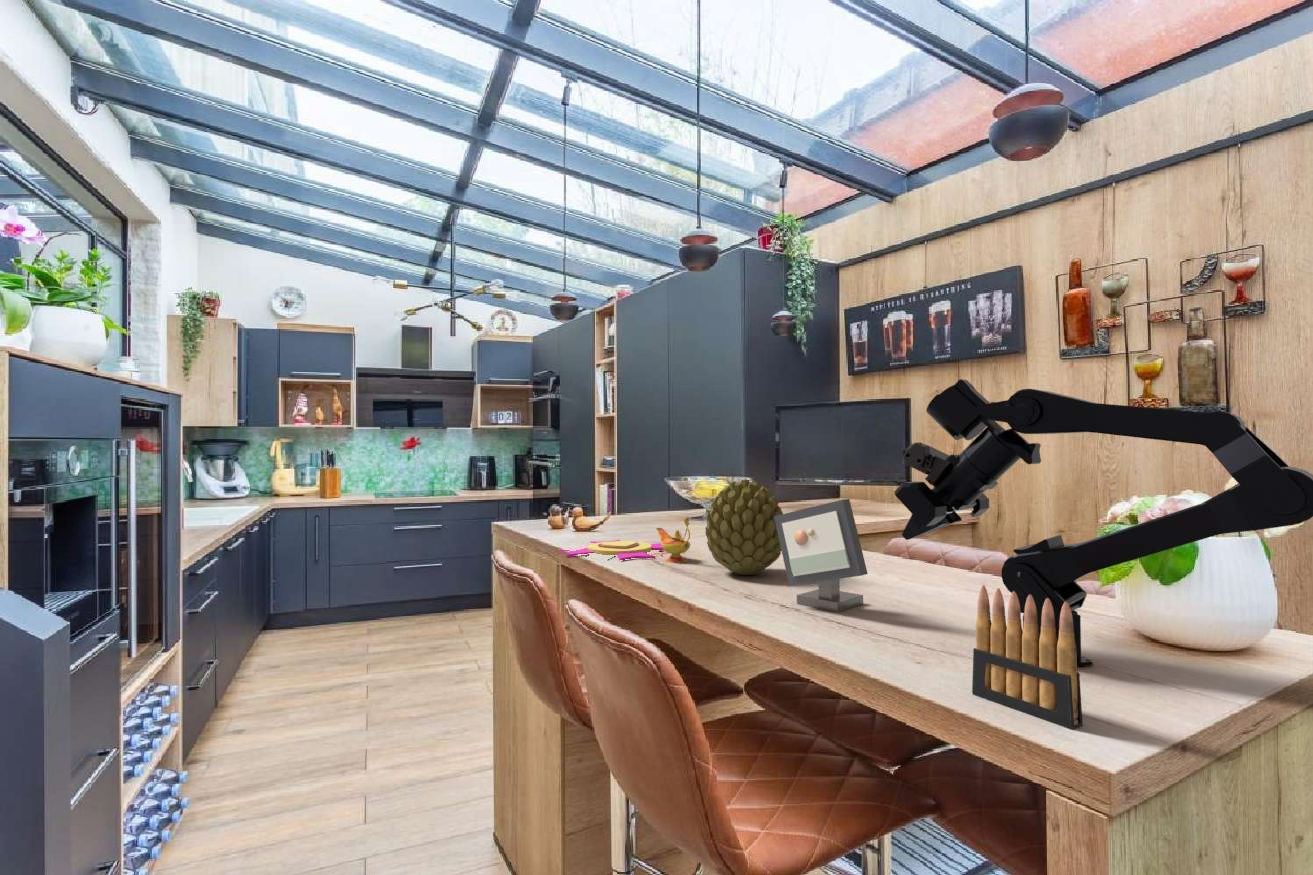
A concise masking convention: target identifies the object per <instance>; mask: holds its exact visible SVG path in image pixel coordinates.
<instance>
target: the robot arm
mask: <svg viewBox="0 0 1313 875" xmlns="http://www.w3.org/2000/svg"><path fill="white" fill-rule="evenodd" d="M925 411H926V413H927V414H928V415H929V416H930V417H931V418H932V419H933V420H934V421H935V422H936V423H937V424H938V425H939V426H940V427H941V428H942V429H943V430H944V431H945V432H947V433H948V435H949V436H950V437H952V438H953V439H954V440H955V441H958V440H962V439H964V440H966V441H970V440H972V441H971V442H970V443H969V444H968V446H966V448H965V449H963V450H962V451H961V452H960V453H959V454H950V455H949V454H948V453H945V452H943V451H941V450H939V449H937V448H935V447H933V446H930V445H928V444H925V443H922V442H920V441H919V442H913V443H910V444H908V445H907V447H906V448H905V449H904V448H903V450H902V451H901V454H902V456H903V460H902V464H903V465H904V466H906V467H907V468H910V467H911V468H912V469H914V470H916V471H919V472H921V473H923V474H925V475H926V477H925V478H924V480H925V481H926V482H927V483H928V484H929V485H930V486H932V487H933V488H930V487H929V486H928V485H927V484H926V482H924V481H907V482H902V483H901V484H900V485H899V486H898V487H897V488H896V489H895V490H894V496H895V497H896V499H898V500H899V501H900V502H901V503H902V505H904V507H905V508H906V509H907V510H908V511H909V512H910V513H911V516H910V517H909V520H908V522H907V524H906V525H905V527H904V528H903V529H904V530H903V531H902V534H901V536H902V538H904V539H905V540H906V541H909V540H912V539H915V538H918V537H919V536H924V535H925V534H929V533H931V532H934V531H936V530H940V529H943V528H945V527H948V526H951V525H954V524H956V523H959V522H961V521H962V517H961V516H960V515H959V514H958V513H957V512H959V511H962V510H963V511H964V510H969V509H972V511H971V512H970V514H969V515H970V517H972V518H977V517H980V516H982V515H983V514H984V513H985V512H987V511H988V509H990V498H988V496H987V495H985V492H986V491H987V490H991V489H994V488H995V487H996V486H997V485H999V483H998V482H997V481H998V480H999V479H1000V478H1001V477H1002V476H1003V475H1004V474H1005V473H1006V472H1007V471H1008V470H1010V468H1012V467H1013V466H1014V465H1015V464H1016V463H1017V462H1018V461H1019V460H1020V459H1021V460H1022V461H1024V463H1026V465H1038V464H1040V463H1041V462H1042V459H1041V452H1040V451H1041V443H1039V442H1031V443H1030V442H1029V441H1027V439H1025V438H1024V437H1023V435H1024V434H1025V435H1055V434H1078V433H1093V434H1094V433H1095V434H1103V435H1104V434H1105V435H1113V436H1119V437H1120V436H1122V437H1130V438H1138V439H1139V438H1140V439H1147V440H1148V439H1149V440H1156V441H1157V440H1158V441H1167V442H1174V443H1175V442H1176V443H1184V444H1193V445H1200V446H1201V445H1202V446H1205V448H1206V449H1207V450H1208V451H1210V452H1211V454H1213V456H1214V458H1216V459H1217V461H1218V462H1219V463H1220V464H1221V466H1223V468H1224V469H1225V470H1226V471H1227V473H1228V474H1229V475H1230V476H1231V477H1232V478H1233V479H1234V480H1235V481H1236V482H1237V484H1236V485H1234V486H1231V487H1229V488H1228V489H1225V490H1224V491H1221V493H1218V494H1216V495H1214V496H1213V497H1211V498H1209V499H1207V500H1205V501H1203V502H1201V503H1198V504H1196V505H1193V506H1190V507H1187V508H1183V509H1180V510H1177V511H1175V512H1171V513H1167V514H1165V515H1163V516H1158V517H1156V518H1153V519H1150V520H1147V521H1143V522H1141V523H1138V524H1135V525H1132V526H1128V527H1126V528H1123V529H1119V530H1116V531H1114V532H1110V533H1108V534H1104V535H1100V536H1098V537H1095V538H1092V539H1089V540H1085V541H1083V542H1076V543H1069V544H1068V543H1067V544H1065V543H1064V541H1063V537H1062V535H1061V534H1059V535H1055V536H1052V537H1049V538H1044V539H1043V540H1041V541H1039V542H1037V543H1031V544H1028V545H1025V546H1021V547H1018V548H1015V549H1013V550H1012V551H1013V553H1015V555H1012V556H1010V557H1008V558H1006V560H1004V562H1003V565H1002V568H1001V580H1002V584H1003V585H1004V586H1005V588H1006V589H1007V591H1008V592H1010V593H1011V594H1012V592H1013V591H1015V592H1016V594H1017V597H1018V600H1019V604H1020V611H1021V614H1023V615H1022V630H1023V629H1024V611H1025V604H1026V600H1027V598H1028V596H1029V595H1032V597H1033V599H1034V602H1035V606H1036V611H1037V623H1038V632H1039V637H1040V634H1041V617H1042V609H1043V605H1044V602H1045V600H1046V598H1049V599H1050V601H1051V604H1052V607H1053V611H1054V617H1055V630H1056V638H1057V642H1058V639H1059V622H1060V613H1061V609H1062V606H1063V604H1064V602H1068V604H1069V606H1070V609H1071V613H1072V618H1073V629H1074V640H1075V644H1076V654H1077V667H1081V666H1082V667H1083V666H1094V660H1091V659H1090V658H1087V657H1086V656H1085V657H1084V656H1082V633H1081V632H1082V631H1081V630H1082V629H1081V628H1082V626H1081V624H1082V623H1081V622H1082V621H1081V615H1080V614H1078V611H1076V610H1077V609H1080V608H1082V607H1083V605H1084V602H1085V601H1086V598H1087V595H1088V593H1087V591H1086V590H1085V589H1083V588H1082V587H1081V585H1080V584H1079V583H1077V580H1079V579H1081V578H1083V577H1084V576H1087V575H1089V574H1090V573H1094V572H1097V571H1100V570H1104V569H1107V568H1110V567H1113V566H1118V565H1121V564H1124V563H1128V562H1132V561H1134V560H1137V559H1141V558H1144V557H1148V556H1150V555H1154V554H1158V553H1161V552H1165V551H1167V550H1171V549H1175V548H1178V547H1182V546H1184V545H1188V544H1192V543H1194V542H1198V541H1201V540H1205V539H1208V538H1212V537H1214V536H1219V535H1224V534H1225V535H1227V534H1236V533H1242V532H1243V533H1245V532H1253V531H1260V530H1267V529H1275V528H1282V527H1289V526H1295V525H1299V524H1302V523H1304V522H1307V521H1308V520H1311V519H1312V518H1313V473H1311V472H1309V471H1307V470H1305V469H1303V468H1299V467H1296V466H1295V467H1294V466H1289V465H1288V464H1287V463H1286V462H1285V461H1284V460H1283V459H1282V457H1280V456H1279V455H1278V454H1277V453H1276V452H1275V451H1273V449H1271V447H1269V446H1268V445H1267V444H1266V443H1265V442H1264V441H1263V440H1261V439H1260V438H1259V437H1258V436H1257V435H1256V434H1255V433H1253V431H1251V429H1249V428H1248V426H1246V423H1245V422H1244V420H1243V419H1242V418H1241V417H1240V416H1238V415H1236V414H1235V413H1231V412H1226V411H1221V410H1215V411H1214V410H1213V411H1207V412H1205V411H1204V412H1203V411H1193V410H1182V409H1170V408H1157V407H1145V406H1134V405H1133V406H1132V405H1121V404H1109V403H1099V402H1094V401H1089V400H1085V399H1082V398H1078V397H1073V396H1071V395H1070V396H1069V395H1065V394H1061V393H1057V392H1053V391H1048V390H1041V389H1034V388H1033V389H1032V388H1025V389H1019V390H1017V391H1016V392H1015V393H1013V394H1012V395H1010V397H1009V398H1008V399H1006V400H1000V401H991V402H990V401H989V400H987V398H986V397H984V396H983V395H982V394H981V393H980V392H979V391H977V389H976V388H975V387H974V385H973V384H972V383H971V382H970V381H969V380H967V379H961V378H960V379H958V380H957V381H956V382H955V384H952V385H950V386H949V387H946V388H945V389H944V390H943V391H942V392H940V393H938V394H936V395H935V396H934V397H933V398H932V399H931V400H930V402H929V403H928V405H927V407H926V410H925ZM998 422H1001V423H1007V425H1008V426H1009V427H1010V428H1008V429H1005V428H1004V427H1003V426H1001V425H1000V424H999V423H998ZM1019 433H1020V434H1019ZM1021 434H1023V435H1021ZM973 439H974V440H973Z"/></svg>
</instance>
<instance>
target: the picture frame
mask: <svg viewBox="0 0 1313 875" xmlns="http://www.w3.org/2000/svg"><path fill="white" fill-rule="evenodd" d="M774 519H775V523H776V528H777V533H778V537H779V542H780V546H781V554H782V559H783V563H784V568H785V573H786V576H787V577H786V578H787V581H788V586H789V587H792V586H797V585H798V586H799V585H800V586H801V585H806V584H812V583H818V582H821V581H828V580H835V579H840V580H841V579H847V578H854V577H860V576H865V575H868V569H867V565H866V562H865V556H864V553H863V549H862V546H861V544H862V543H861V541H860V538H859V534H858V528H857V525H856V520H855V517H854V512H853V508H852V503H851V501H850V498H845V499H840V500H836V501H835V500H834V501H832V502H831V501H830V502H828V503H823V504H820V505H819V504H818V505H814V506H811V507H807V508H803V509H798V510H794V511H790V512H786V513H783V514H781V515H777V516H774Z"/></svg>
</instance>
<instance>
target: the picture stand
mask: <svg viewBox="0 0 1313 875" xmlns="http://www.w3.org/2000/svg"><path fill="white" fill-rule="evenodd" d="M840 580H841V579H835V580H828V581H821V582H817V583H818V588H817V589H814V590H809V591H807V592H803V593H799V594H796V605H800V606H801V605H802V606H806V607H811V608H816V609H819V610H820V609H821V610H826V611H831V612H835V613H838V612H842V611H844V610H848V609H851V608H854V607H857V606H860V605H863V604H864V594H859V593H854V592H853V593H852V592H850V591H849V592H848V591H841V589H840V588H841V587H840Z"/></svg>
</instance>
